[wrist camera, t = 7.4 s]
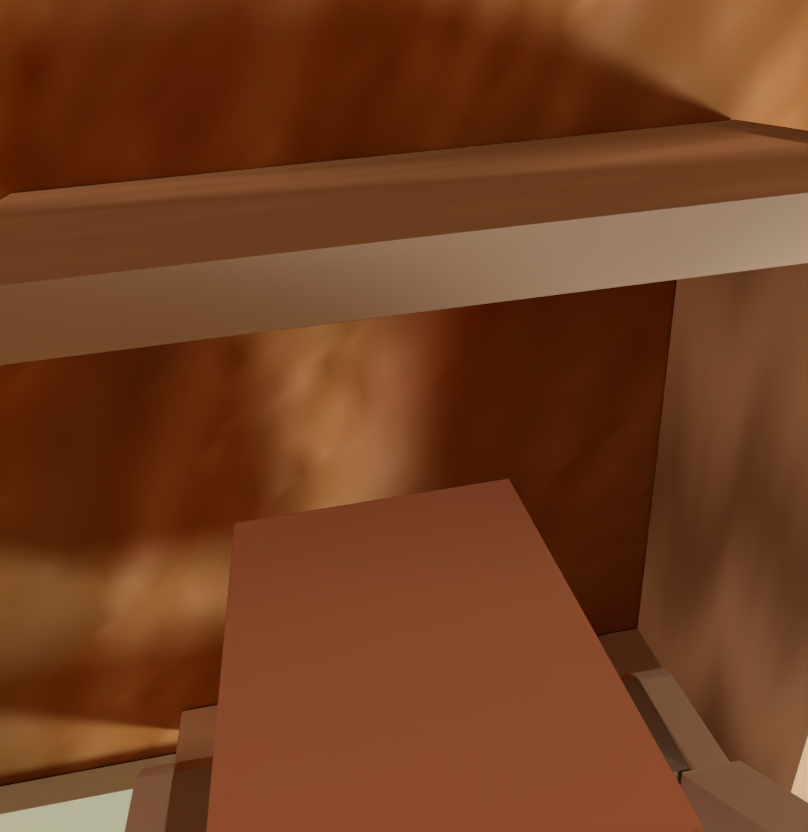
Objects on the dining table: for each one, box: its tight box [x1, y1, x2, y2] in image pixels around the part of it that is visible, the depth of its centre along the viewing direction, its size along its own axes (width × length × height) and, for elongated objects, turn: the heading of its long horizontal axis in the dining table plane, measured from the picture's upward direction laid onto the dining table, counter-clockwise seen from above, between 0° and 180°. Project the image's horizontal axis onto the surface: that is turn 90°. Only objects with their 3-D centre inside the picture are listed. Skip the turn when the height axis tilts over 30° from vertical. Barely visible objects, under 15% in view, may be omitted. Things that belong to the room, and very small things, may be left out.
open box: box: [0, 120, 808, 803], centre depth 13 cm, size 14×13×6 cm
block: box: [206, 479, 703, 832], centre depth 10 cm, size 5×4×6 cm
